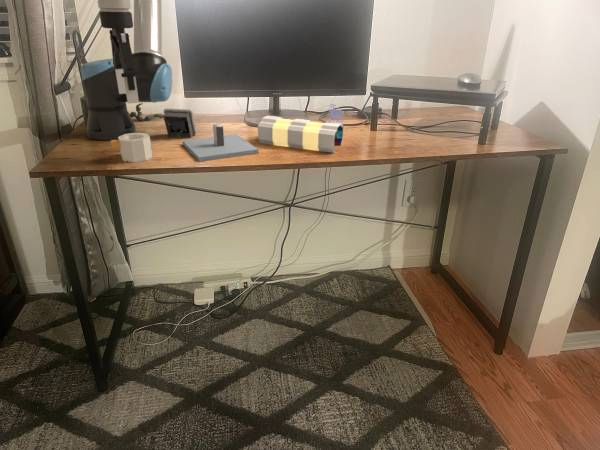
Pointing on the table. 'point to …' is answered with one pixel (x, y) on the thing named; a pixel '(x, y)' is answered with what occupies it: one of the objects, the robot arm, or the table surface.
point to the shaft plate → (219, 146)
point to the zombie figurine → (146, 116)
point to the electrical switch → (179, 123)
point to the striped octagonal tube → (302, 132)
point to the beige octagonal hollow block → (133, 147)
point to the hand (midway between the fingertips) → (128, 98)
